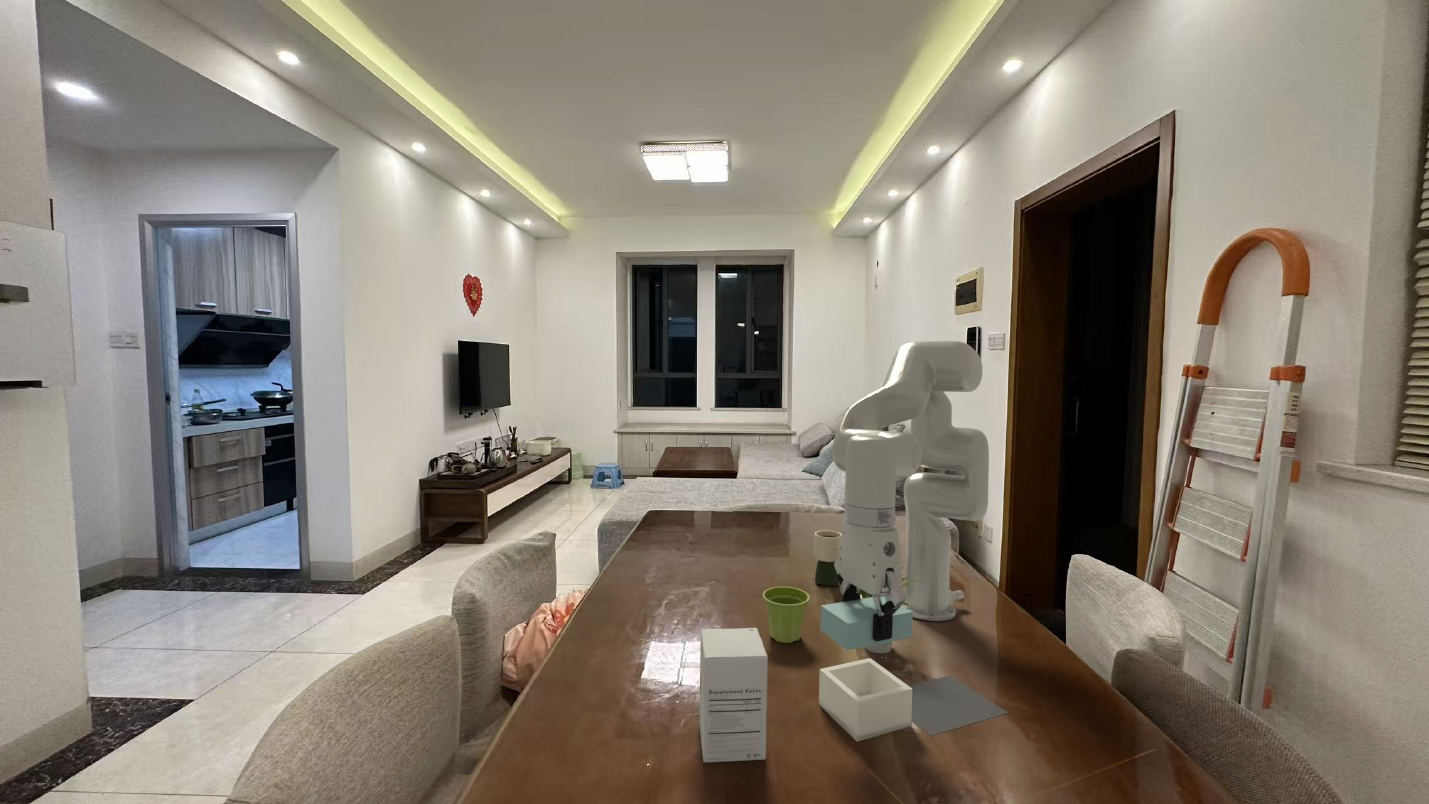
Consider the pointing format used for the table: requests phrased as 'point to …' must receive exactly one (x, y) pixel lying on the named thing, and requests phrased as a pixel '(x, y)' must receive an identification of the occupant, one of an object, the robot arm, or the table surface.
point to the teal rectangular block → (861, 623)
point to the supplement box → (733, 695)
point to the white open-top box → (865, 698)
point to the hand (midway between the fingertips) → (865, 627)
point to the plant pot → (785, 612)
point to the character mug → (826, 556)
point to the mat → (949, 705)
